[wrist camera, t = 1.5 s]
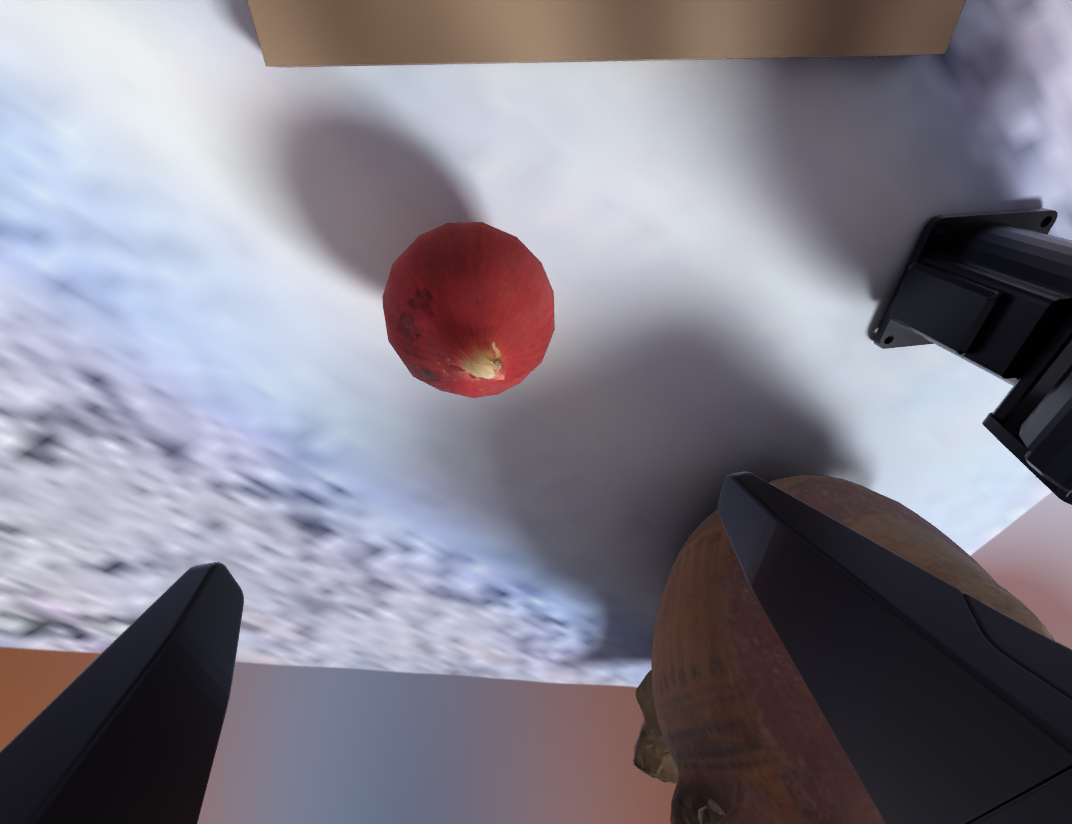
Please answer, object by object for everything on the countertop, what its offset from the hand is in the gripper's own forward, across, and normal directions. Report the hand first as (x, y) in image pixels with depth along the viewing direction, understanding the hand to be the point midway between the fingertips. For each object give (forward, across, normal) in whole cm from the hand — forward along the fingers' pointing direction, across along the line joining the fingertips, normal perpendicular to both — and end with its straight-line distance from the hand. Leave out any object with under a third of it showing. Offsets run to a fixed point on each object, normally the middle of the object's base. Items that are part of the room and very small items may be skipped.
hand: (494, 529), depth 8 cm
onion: (+14, 0, 0) cm, 14 cm away
